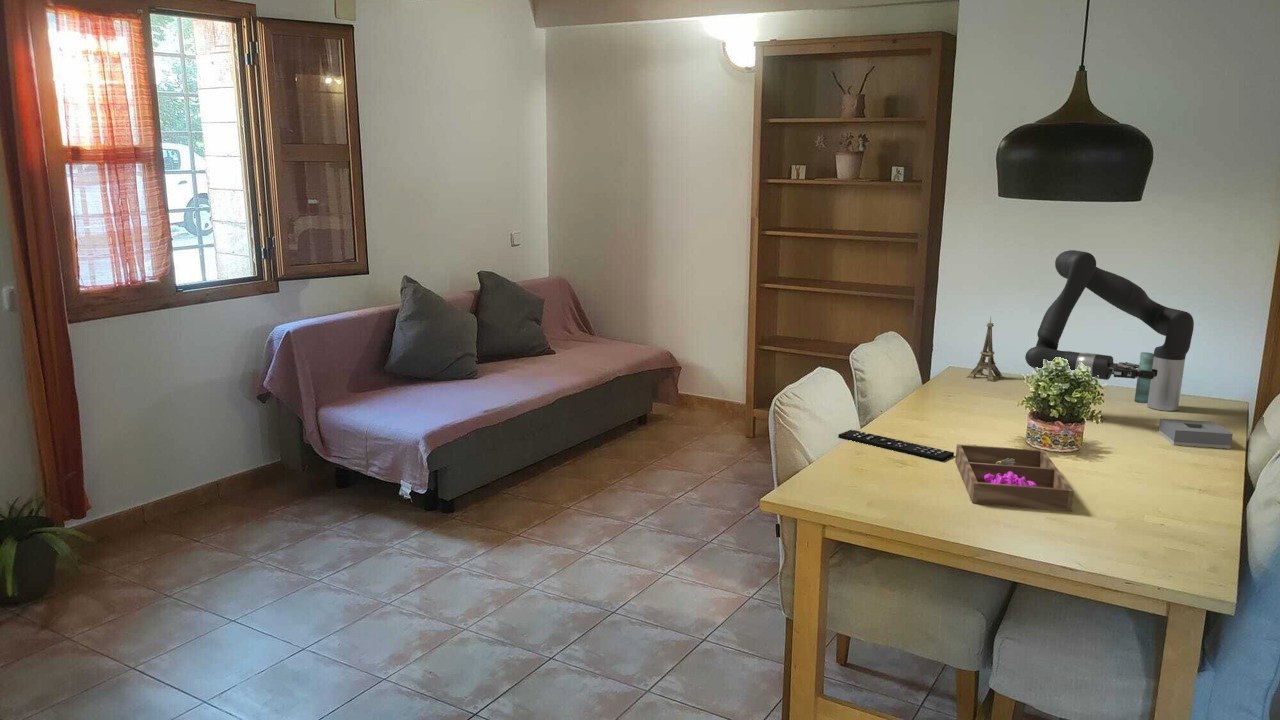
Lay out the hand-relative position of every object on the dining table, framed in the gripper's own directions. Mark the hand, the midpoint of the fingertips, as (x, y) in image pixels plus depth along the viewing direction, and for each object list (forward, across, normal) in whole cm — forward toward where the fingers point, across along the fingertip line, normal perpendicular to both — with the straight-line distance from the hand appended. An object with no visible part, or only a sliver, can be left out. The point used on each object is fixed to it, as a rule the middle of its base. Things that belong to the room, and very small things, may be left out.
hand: (1155, 374), depth 281 cm
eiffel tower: (-64, +40, +18) cm, 77 cm away
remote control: (-51, -68, +18) cm, 87 cm away
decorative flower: (-15, -74, +18) cm, 77 cm away
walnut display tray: (-15, -79, +18) cm, 82 cm away
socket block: (+12, -1, +18) cm, 22 cm away
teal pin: (-3, 0, +9) cm, 9 cm away
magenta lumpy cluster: (-12, -88, +18) cm, 91 cm away
